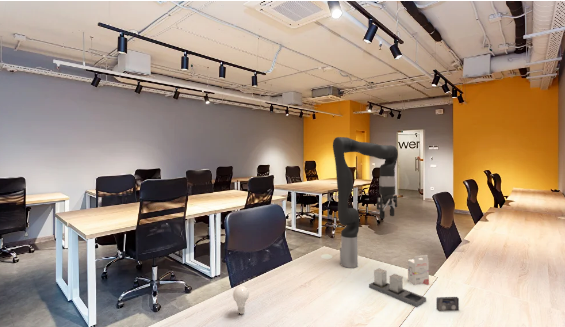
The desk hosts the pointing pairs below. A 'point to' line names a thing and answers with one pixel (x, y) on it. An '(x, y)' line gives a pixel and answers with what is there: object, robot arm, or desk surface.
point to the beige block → (396, 284)
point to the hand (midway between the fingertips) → (387, 217)
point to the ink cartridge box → (418, 270)
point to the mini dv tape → (447, 303)
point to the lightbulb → (241, 298)
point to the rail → (401, 295)
